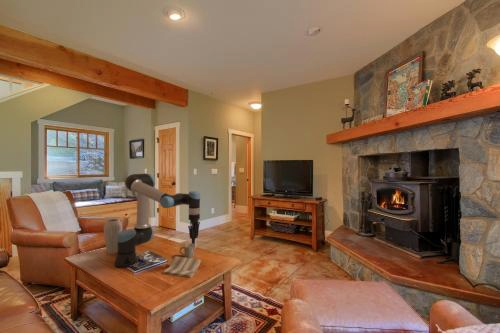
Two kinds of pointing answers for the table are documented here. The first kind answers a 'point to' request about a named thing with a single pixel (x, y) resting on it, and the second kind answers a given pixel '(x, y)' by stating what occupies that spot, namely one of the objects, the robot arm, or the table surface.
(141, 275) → the table surface
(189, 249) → the mug
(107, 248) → the vase
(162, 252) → the table surface
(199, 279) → the table surface
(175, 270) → the laid row
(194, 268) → the plank
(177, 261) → the plank
